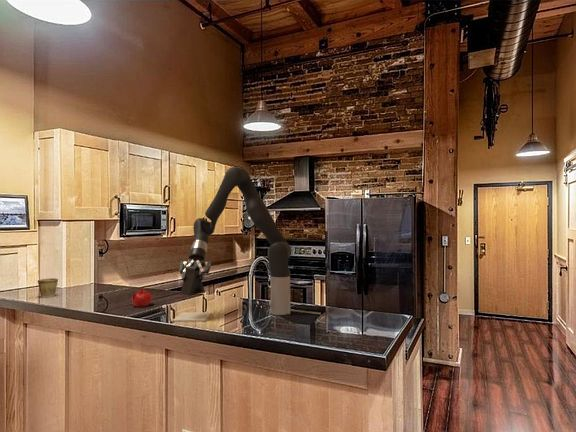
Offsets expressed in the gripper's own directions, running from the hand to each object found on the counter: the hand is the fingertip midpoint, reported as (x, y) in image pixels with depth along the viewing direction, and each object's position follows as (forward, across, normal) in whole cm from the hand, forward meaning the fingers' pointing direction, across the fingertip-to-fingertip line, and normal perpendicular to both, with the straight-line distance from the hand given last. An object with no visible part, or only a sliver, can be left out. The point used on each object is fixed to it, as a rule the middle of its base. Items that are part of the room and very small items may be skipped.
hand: (192, 280), depth 171 cm
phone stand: (+4, 0, +5) cm, 6 cm away
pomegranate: (-6, -33, +31) cm, 46 cm away
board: (+11, 0, +13) cm, 17 cm away
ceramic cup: (-25, -98, +50) cm, 112 cm away
